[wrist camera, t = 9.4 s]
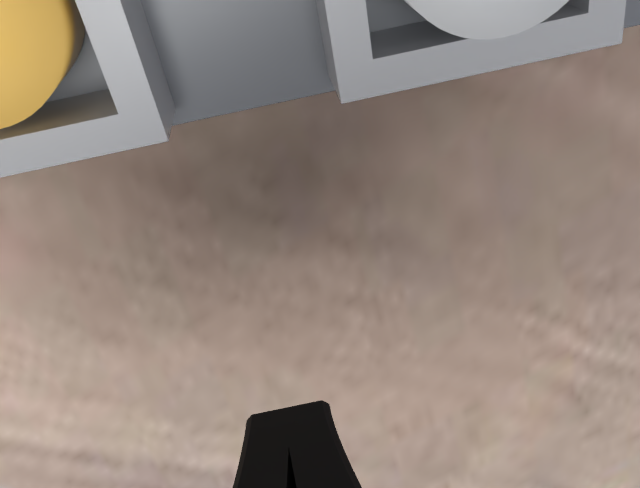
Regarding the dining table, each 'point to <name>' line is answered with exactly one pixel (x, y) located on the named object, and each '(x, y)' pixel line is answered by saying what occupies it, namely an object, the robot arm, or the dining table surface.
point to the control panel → (263, 64)
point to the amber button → (35, 53)
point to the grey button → (485, 15)
